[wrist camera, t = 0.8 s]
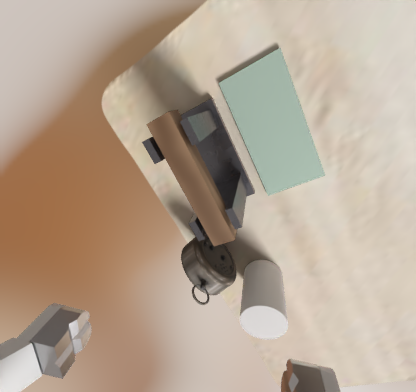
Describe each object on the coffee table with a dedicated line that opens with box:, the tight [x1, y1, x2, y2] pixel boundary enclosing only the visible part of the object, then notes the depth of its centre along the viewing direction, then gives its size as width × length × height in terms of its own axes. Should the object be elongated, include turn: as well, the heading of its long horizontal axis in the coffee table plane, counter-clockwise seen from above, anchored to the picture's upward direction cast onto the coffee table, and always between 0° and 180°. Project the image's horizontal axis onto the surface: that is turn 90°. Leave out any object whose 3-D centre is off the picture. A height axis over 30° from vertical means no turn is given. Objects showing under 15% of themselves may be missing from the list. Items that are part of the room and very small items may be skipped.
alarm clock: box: [181, 235, 236, 305], centre depth 43 cm, size 11×5×16 cm, turn 47°
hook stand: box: [142, 98, 255, 241], centre depth 36 cm, size 8×18×15 cm, turn 27°
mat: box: [219, 48, 325, 196], centre depth 39 cm, size 10×21×1 cm, turn 27°
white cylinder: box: [240, 260, 288, 340], centre depth 46 cm, size 8×8×12 cm
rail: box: [146, 110, 237, 246], centre depth 31 cm, size 3×18×3 cm, turn 27°
